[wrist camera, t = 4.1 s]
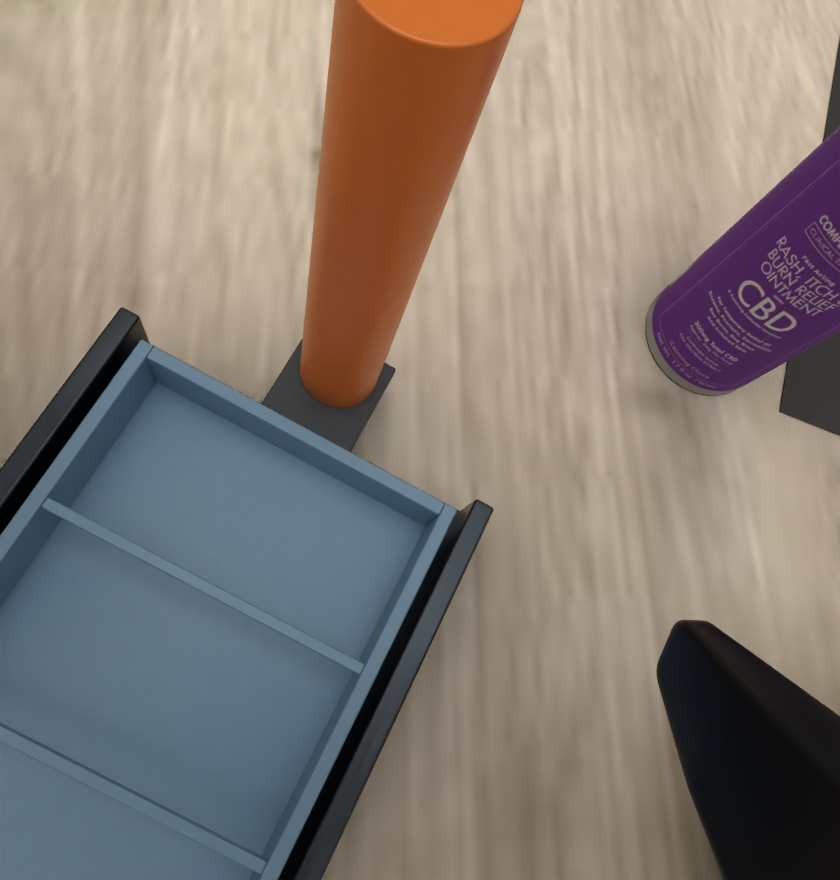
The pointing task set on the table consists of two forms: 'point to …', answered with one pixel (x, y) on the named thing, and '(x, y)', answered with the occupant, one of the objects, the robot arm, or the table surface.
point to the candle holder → (826, 364)
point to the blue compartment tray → (239, 521)
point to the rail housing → (380, 709)
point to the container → (757, 286)
